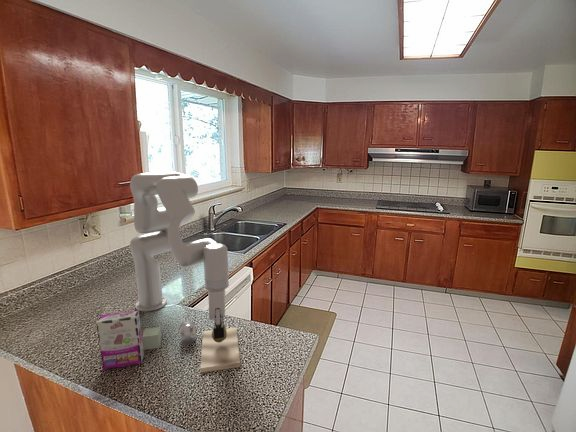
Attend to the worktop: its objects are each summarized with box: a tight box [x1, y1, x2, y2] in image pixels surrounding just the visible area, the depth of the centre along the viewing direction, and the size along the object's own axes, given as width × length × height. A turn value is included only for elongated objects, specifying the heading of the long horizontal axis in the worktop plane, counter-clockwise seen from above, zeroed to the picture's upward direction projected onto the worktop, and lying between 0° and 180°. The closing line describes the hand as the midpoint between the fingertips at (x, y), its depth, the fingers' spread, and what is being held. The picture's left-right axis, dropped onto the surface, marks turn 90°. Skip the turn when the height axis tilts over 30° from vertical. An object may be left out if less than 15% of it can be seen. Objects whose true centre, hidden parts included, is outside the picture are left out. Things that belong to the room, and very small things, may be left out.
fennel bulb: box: [212, 316, 227, 342], centre depth 104 cm, size 6×5×12 cm
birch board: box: [199, 327, 241, 373], centre depth 106 cm, size 20×12×2 cm, turn 13°
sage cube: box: [142, 326, 162, 351], centre depth 108 cm, size 5×5×5 cm
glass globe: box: [179, 320, 197, 345], centre depth 111 cm, size 5×5×6 cm
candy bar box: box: [96, 309, 145, 371], centre depth 98 cm, size 11×5×16 cm, turn 105°
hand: (219, 331), depth 105 cm, fingers closed on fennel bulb, 6 cm apart
